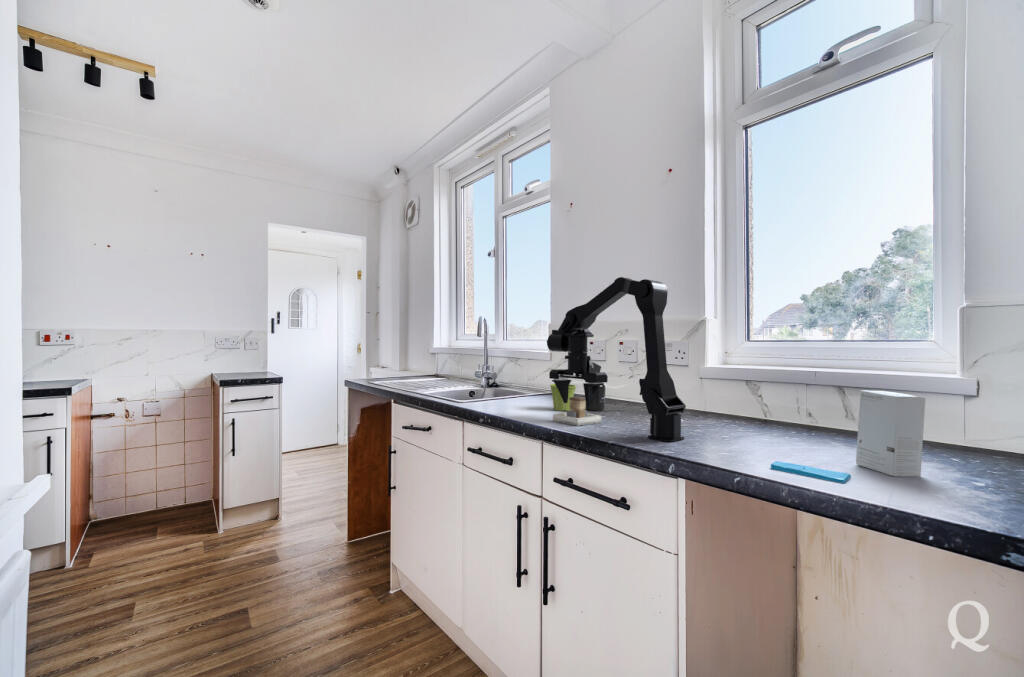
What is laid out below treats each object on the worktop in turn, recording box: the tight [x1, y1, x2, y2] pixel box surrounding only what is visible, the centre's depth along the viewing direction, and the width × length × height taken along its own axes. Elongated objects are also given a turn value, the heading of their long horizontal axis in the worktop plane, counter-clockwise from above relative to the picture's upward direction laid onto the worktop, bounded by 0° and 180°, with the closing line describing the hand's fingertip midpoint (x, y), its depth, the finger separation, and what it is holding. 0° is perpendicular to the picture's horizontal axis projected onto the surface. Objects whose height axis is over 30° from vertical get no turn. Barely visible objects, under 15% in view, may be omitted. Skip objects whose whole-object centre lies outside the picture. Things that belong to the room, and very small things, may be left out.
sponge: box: [770, 460, 852, 484], centre depth 83 cm, size 2×12×6 cm
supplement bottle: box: [585, 384, 606, 412], centre depth 157 cm, size 7×7×12 cm
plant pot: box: [549, 383, 577, 412], centre depth 156 cm, size 9×9×9 cm
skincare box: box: [855, 389, 926, 478], centre depth 85 cm, size 8×6×15 cm
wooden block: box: [569, 396, 586, 418], centre depth 133 cm, size 4×2×6 cm, turn 40°
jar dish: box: [552, 409, 602, 427], centre depth 133 cm, size 10×10×3 cm
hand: (576, 404), depth 133 cm, fingers open, 9 cm apart
